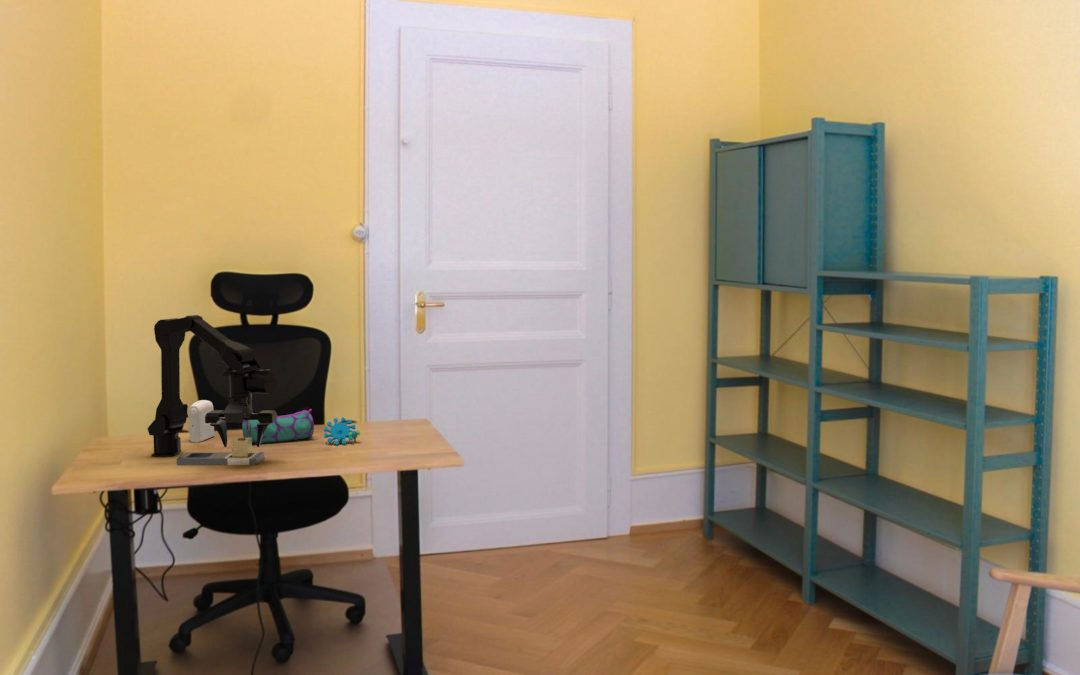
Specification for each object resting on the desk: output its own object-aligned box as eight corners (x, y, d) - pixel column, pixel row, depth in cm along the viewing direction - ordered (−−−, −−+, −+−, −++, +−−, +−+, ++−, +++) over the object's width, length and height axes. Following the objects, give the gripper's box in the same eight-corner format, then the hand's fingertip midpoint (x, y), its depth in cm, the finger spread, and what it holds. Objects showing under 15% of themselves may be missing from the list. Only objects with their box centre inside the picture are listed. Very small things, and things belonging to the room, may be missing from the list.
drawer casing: (176, 464, 266) (176, 457, 266) (187, 458, 274) (186, 451, 274) (256, 464, 267) (256, 457, 266) (264, 458, 275) (264, 451, 274)
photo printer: (200, 442, 297) (199, 403, 296) (187, 442, 297) (186, 402, 296) (216, 436, 307) (215, 398, 306) (203, 436, 307) (202, 397, 306)
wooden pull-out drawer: (232, 463, 268) (231, 439, 268) (236, 460, 273) (236, 436, 272) (247, 463, 268) (247, 439, 268) (252, 460, 273) (251, 436, 272)
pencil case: (246, 447, 291) (246, 415, 290) (242, 441, 299) (241, 411, 298) (315, 441, 300) (314, 410, 300) (308, 436, 308) (308, 406, 307)
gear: (319, 440, 292) (327, 413, 299) (321, 451, 297) (329, 424, 303) (355, 445, 292) (362, 418, 299) (356, 455, 297) (363, 429, 303)
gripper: (197, 396, 261) (199, 453, 262) (266, 396, 261) (267, 453, 262) (210, 390, 272) (212, 444, 273) (276, 390, 272) (278, 444, 273)
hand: (242, 446), depth 270 cm, fingers open, 9 cm apart
